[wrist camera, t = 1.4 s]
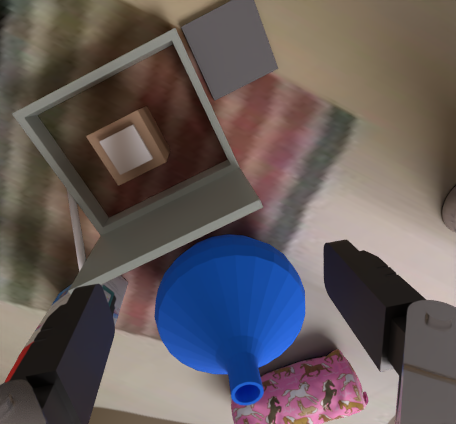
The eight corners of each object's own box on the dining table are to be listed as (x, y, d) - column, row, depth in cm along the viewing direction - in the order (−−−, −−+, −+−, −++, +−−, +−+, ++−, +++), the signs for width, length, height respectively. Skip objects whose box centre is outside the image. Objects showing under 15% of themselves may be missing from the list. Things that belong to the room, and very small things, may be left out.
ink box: (84, 313, 45) (38, 412, 31) (58, 291, 43) (-3, 386, 29) (130, 282, 43) (103, 370, 30) (105, 258, 42) (65, 340, 28)
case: (176, 32, 33) (167, -3, 20) (238, 168, 39) (263, 207, 26) (20, 114, 34) (-84, 131, 21) (105, 233, 40) (65, 301, 27)
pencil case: (243, 413, 57) (252, 467, 49) (224, 381, 53) (230, 434, 45) (351, 369, 56) (379, 418, 48) (339, 334, 52) (367, 380, 44)
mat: (249, -8, 32) (250, -10, 32) (276, 68, 35) (278, 68, 35) (181, 27, 33) (181, 26, 32) (214, 100, 36) (214, 100, 35)
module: (146, 105, 35) (136, 110, 28) (170, 149, 37) (166, 163, 30) (104, 127, 35) (84, 137, 29) (130, 169, 38) (117, 187, 31)
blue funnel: (291, 213, 42) (363, 302, 25) (280, 319, 49) (331, 448, 32) (156, 217, 40) (130, 318, 23) (164, 327, 47) (150, 470, 30)
